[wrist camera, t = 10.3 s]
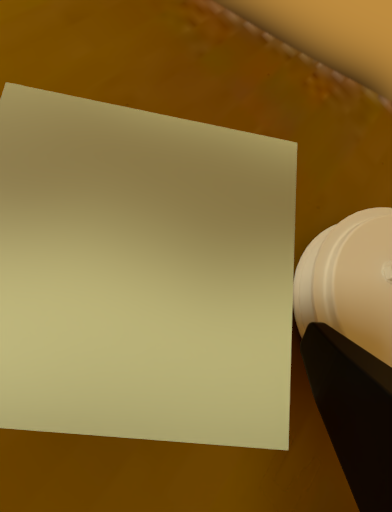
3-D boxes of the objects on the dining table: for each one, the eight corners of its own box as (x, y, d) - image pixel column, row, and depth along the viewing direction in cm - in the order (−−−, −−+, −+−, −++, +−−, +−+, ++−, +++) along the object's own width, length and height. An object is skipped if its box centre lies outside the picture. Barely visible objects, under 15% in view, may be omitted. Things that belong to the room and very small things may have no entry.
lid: (310, 199, 26) (351, 167, 21) (448, 263, 27) (516, 245, 23) (264, 360, 22) (303, 364, 17) (428, 427, 23) (506, 446, 19)
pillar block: (189, 384, 16) (288, 449, 6) (58, 371, 15) (-105, 419, 5) (202, 263, 18) (297, 142, 7) (85, 245, 17) (6, 82, 7)
